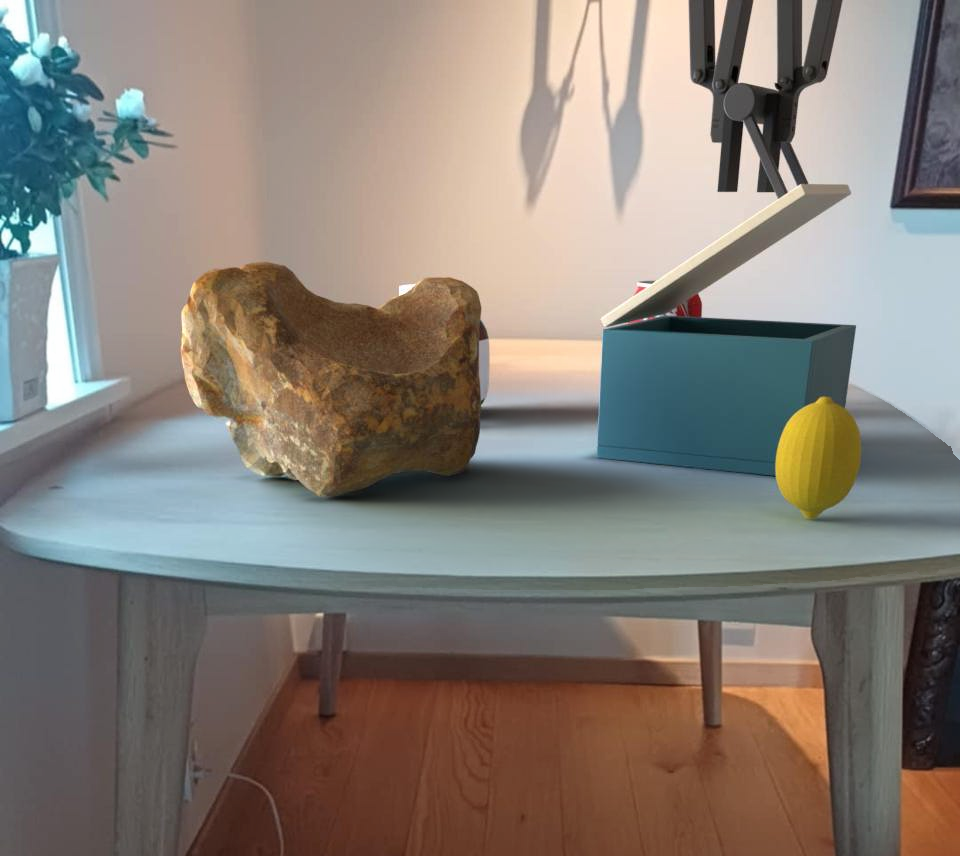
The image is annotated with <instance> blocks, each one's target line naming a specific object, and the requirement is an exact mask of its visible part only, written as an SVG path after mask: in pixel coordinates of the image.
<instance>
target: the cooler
mask: <svg viewBox="0 0 960 856" xmlns="http://www.w3.org/2000/svg"><path fill="white" fill-rule="evenodd" d="M856 330H857V325H856V324H841V323H820V322H800V321H781V320H762V319H761V320H760V319H743V318H741V319H739V318H722V317H704V316H702V317H684V316H660V317H656V318H651V319H647V320H642V321H638V322H633V323H629V324H628V323H624V324H619V325H615V326H610V327H606V328H603V329H602V335H601V337H602V338H601V357H600V360H601V362H600V377H599V378H600V379H599V396H598V397H599V399H598V400H599V401H598V421H597V439H596V440H597V441H596V443H597V445H596V458H597V459H605V460H614V461H615V460H616V461H625V462H633V463H634V462H635V463H645V464H653V465H654V464H656V465H664V466H674V467H682V468H683V467H685V468H693V469H694V468H695V469H702V470H712V471H713V470H714V471H721V472H733V473H743V474H751V475H752V474H753V475H762V476H771V477H776V470H775V465H776V454H777V449H778V444H779V441H780V438H781V435H782V432H783V430H784V428H785V426H786V424H787V422H788V421H789V420H790V418H791V417H792V416H793V415H794V414H795V413H796V412H798V411H799V410H800V409H802V408H803V407H805V406H807V405H809V404H812V403H815V402H816V401H817V400H818V399H819V398H820V397H830V398H831V399H832V400H833V402H834V403H835V404H838V405H840V406H841V407H843V408H844V409H845V410H846V404H847V396H848V390H849V382H850V376H851V374H850V373H851V368H852V359H853V353H854V344H855V337H856Z"/></svg>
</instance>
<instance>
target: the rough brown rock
mask: <svg viewBox="0 0 960 856" xmlns="http://www.w3.org/2000/svg"><path fill="white" fill-rule="evenodd" d="M415 284H416V285H415V286H414V287H412V288H411V289H409V290H408V291H407V292H405V293H403V294H401V295H399V294H398V295H396V296H394V297H392V298H390V299H389V300H388V301H386V302H385V303H383V304H382V305H379V306H378V307H373V306H370V305H367V304H361V303H356V302H353V303H350V302H349V303H347V302H338V301H334V300H331V299H329V298H326V297H323V296H320V295H317V294H315V293H314V292H312V291H311V290H310V289H308V288H307V287H306V286H305V285H304V284H303V282H302V281H301V280H300V279H299V278H298V276H297V275H296V274H295V273H294V272H293V271H292V270H291V269H290V268H289V267H287V266H286V265H284V264H279V263H274V262H269V261H258V262H249V263H246V264H244V265H242V266H240V267H237V266H236V267H235V266H226V267H220V268H213V269H210V270H208V271H206V272H204V273H203V274H202V275H201V276H200V277H198V278H197V279H196V280H195V281H193V284H192V286H191V289H190V293H189V296H188V298H187V302H186V304H185V305H184V307H183V308H182V310H181V331H182V332H181V347H180V355H181V362H182V363H181V364H182V367H183V372H184V381H185V383H186V386H187V390H188V393H189V395H190V397H191V399H192V401H193V403H194V404H195V406H196V407H197V408H198V409H200V410H202V411H203V412H205V413H206V414H207V415H209V416H212V417H215V418H217V419H219V420H221V421H222V422H224V423H225V425H226V427H227V429H228V431H229V433H230V435H231V439H232V441H233V443H234V445H236V448H237V451H238V453H239V456H240V458H241V460H242V462H243V464H244V465H245V467H246V468H247V469H248V470H250V471H251V472H253V473H255V474H257V475H259V476H262V477H271V478H281V477H282V476H283V477H284V476H286V477H287V478H288V479H290V480H293V481H299V482H300V483H301V485H303V486H304V487H305V488H306V489H307V490H309V491H311V492H313V493H315V495H317V496H318V497H321V498H327V499H328V498H333V497H337V496H339V495H343V494H348V493H352V492H356V491H359V490H362V489H365V488H368V487H370V486H371V485H373V484H375V483H377V482H379V481H381V480H383V479H386V478H388V477H389V476H392V475H394V474H399V473H403V472H415V471H422V472H423V471H424V472H428V473H433V474H438V475H440V476H446V477H447V476H448V477H451V476H454V475H458V474H461V473H463V472H464V470H466V468H467V467H468V466H469V464H470V461H471V459H472V458H473V457H474V455H475V454H476V451H477V450H476V449H477V445H478V442H479V439H480V435H481V410H482V405H481V392H480V379H479V326H480V319H481V317H482V304H481V298H480V295H479V293H478V291H477V290H476V289H475V288H473V286H471V285H470V284H468V283H466V282H465V281H463V280H461V279H457V278H453V277H451V276H449V277H448V276H447V277H439V276H438V277H437V276H435V277H430V276H429V277H425V278H422V279H419V280H418V281H417V282H416V283H415Z"/></svg>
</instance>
